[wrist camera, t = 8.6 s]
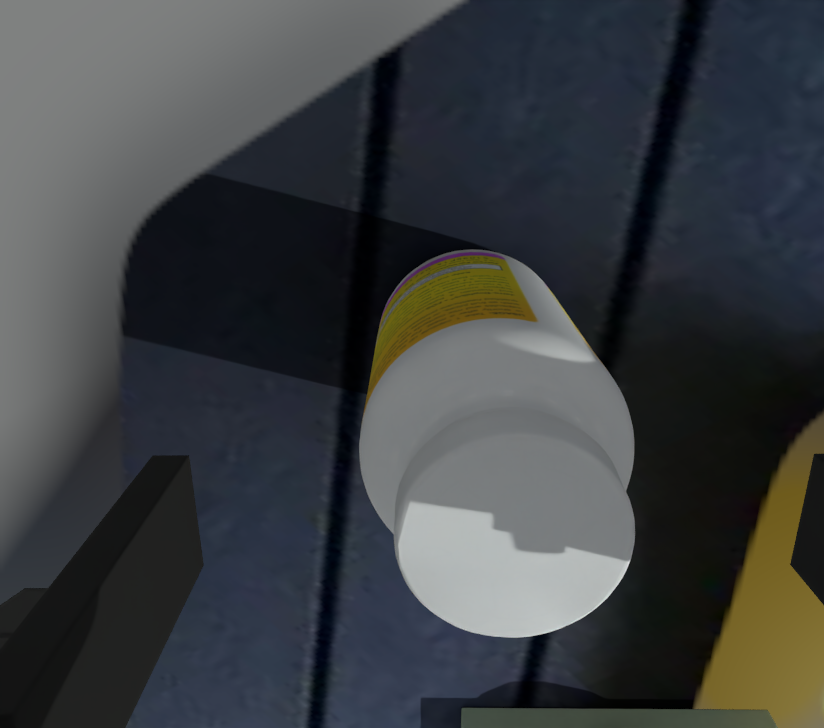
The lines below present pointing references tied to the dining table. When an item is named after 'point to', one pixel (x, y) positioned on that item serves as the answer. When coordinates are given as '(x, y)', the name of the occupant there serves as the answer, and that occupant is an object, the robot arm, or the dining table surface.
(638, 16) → the dining table surface
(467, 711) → the scale
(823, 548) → the robot arm
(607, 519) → the supplement bottle
